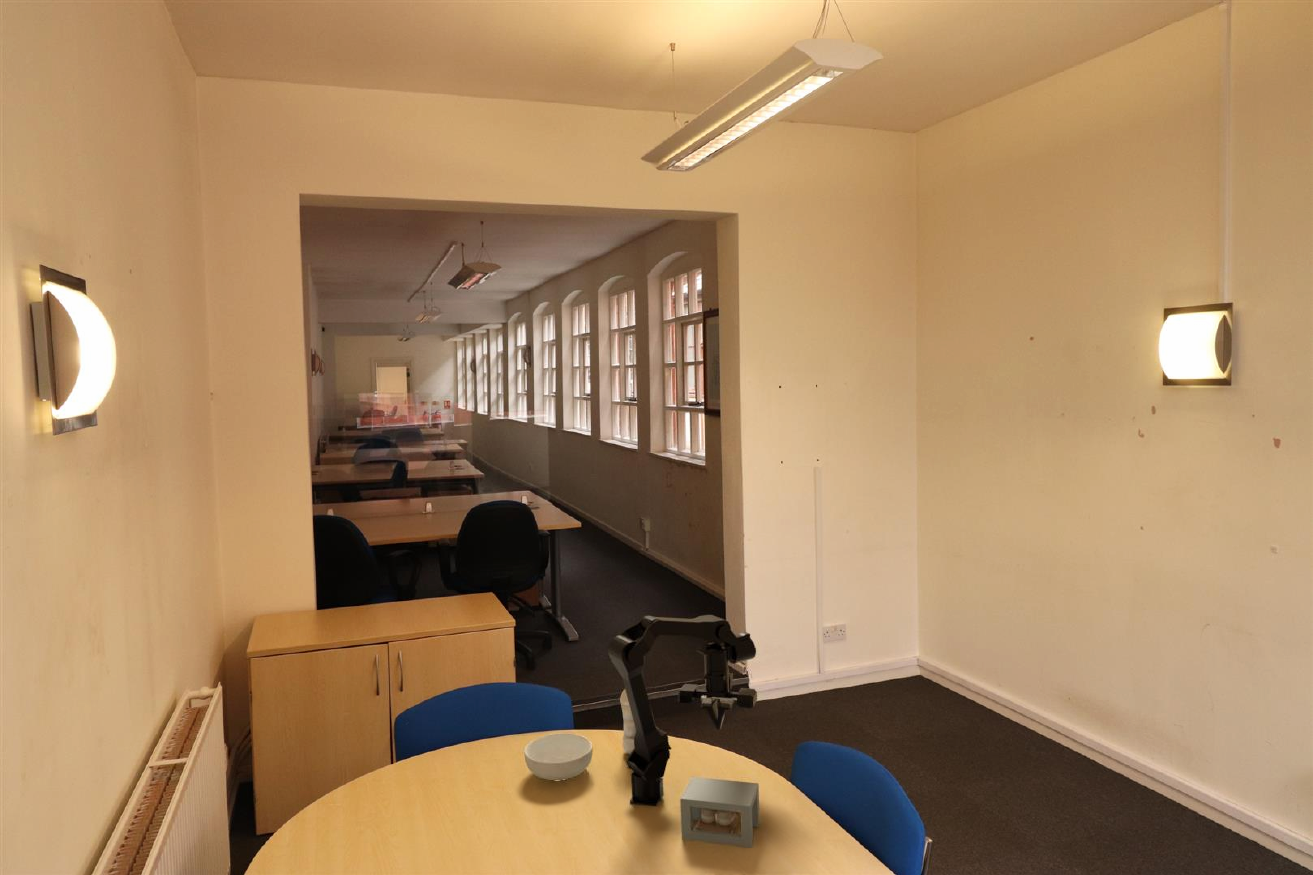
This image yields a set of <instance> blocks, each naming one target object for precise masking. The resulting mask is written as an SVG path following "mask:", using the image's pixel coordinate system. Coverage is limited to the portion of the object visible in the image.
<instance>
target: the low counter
mask: <svg viewBox="0 0 1313 875" xmlns="http://www.w3.org/2000/svg"><path fill="white" fill-rule="evenodd" d="M759 786H760V785H759V783H757V782H749V781H748V782H747V781H739V780H730V779H719V778H710V777H702V776H701V777H699V776H691V777H690V779H689V782H688V783H687V785H686V787H685V788H684V791H683V793H682V795H681V796H680V798H679V801H680V803H679V804H680V822H681V823H680V825H681V826H680V827H681V840H687V841H695V842H704V843H709V844H711V843H712V844H719V845H727V846H734V847H741V848H742V847H744V848H749V849H750V848H752V846H753V844H754V830H753V828H759V826H760V824H761V823H760V822H761V821H760V791H759V789H760V788H759ZM701 808H708V809H717V810H726V811H735V812H736V813H737V812H738V813H740V828H741V831H740V832H741V833H740V834H738V833H723V832H715V831H707V830H698V829H695V828H694V823H693V822H694V821H697V822H699V821H700V819H701Z"/></svg>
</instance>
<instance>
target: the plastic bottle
mask: <svg viewBox="0 0 1313 875" xmlns="http://www.w3.org/2000/svg"><path fill="white" fill-rule="evenodd" d="M619 701H620V705H621V706H620V707H621V711H622V718H623V736H622V749H623V750H624V752H625V754H628V755H630V754H631V753H632V751H633V750H634V749H635V747H634V737H635V734H636V728H635V724H634V720H633V716H632V713H631V709H630V705H629V702H628V698H627V694H626V690H625V688H624V689H623V691H622V692H621V695H620V698H619Z"/></svg>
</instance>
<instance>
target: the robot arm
mask: <svg viewBox="0 0 1313 875" xmlns="http://www.w3.org/2000/svg"><path fill="white" fill-rule="evenodd" d="M731 629H732V628H731V624H730V623H729V621H728V620H726V619H724V618H722V617H721V618H720V617H718V616H715V615H713V614H705V615H699V616H697V617H695V618H682V617H681V618H680V617H665V616H661V617H660V616H658V617H657V616H652V615H644V616H643V617H642V618H641V619H640V620H639V621H637V623H635V624H632V625H631V626H628V627H627V628H625V629H623V631H621V633H619V634H618V635H616V636H614V637H612V639H611V640H610V642H609V644H608V646H607V653H608V656H609V658H610V660H611V662H612V664H613V666H614V667H615V669H616V670H617V671H618V673H619V675H620V677H621V678H622V682H623V686H624V689H625V690H626V694H627V698H628V702H629V705H630V709H631V713H632V716H633V720H634V724H635V728H636V734H635V737H634V747H635V749H634V750H633V751H632V753H631V754H629V756H628V758H627V759H626V760H625V764H626V766H627V768H628V769H629V770H631V771H632V772H631V774H630V776H631V778H630V779H631V797H630V799H629V803H631V804H636V805H637V804H638V805H647V806H657V805H658V804H659V801H660V800H662V797H663V796H664V778H663V777H665V772H666V768H667V765H668V761H669V760H670V758H671V751H672V747H671V746H670V743H669V737H668V733H667V732H666V731H663V730H661V729H660V728H658V727H657V725H656V721H655V718H654V713H653V711H652V710H653V709H652V706H651V702H650V699H649V695H648V691H647V688H646V683H645V680H644V675H643V671H644V667H645V656H646V655H647V654H648V653H649V652H650V651H651V649H652V648H653V645H654V643H655V641H656V639H657V638H658V637H659V636H665V637H666V636H667V637H686V638H687V637H689V638H691V637H692V638H699V639H702V640H705V641H702V642H701V644H700V645H699V646H697V648H696V652H698V653H699V654H702V655H703V656H704V681H705V689H700V687H699V685H698V684H692V683H684V684H683V685H682V687H681V688H680V690H678V694H677V702H679V703H682V704H691V703H692V702H693V701H694V698H695V699H696V698H697V699H700V700H701V704H700V707H701V708H704V709H705V710H706V713H708V715H709V717H710V719H711V721H712V723H713V726H714V727H715V729H716V730H717V731H720V730H721V729H722V725H723V722H724V718H725V715H726V711H727V710H730V709H732V706H733V705H734V703H735V702H736V704H737V706H739V707H740V708H744V709H745V708H746V709H752V708H754V707H755V705H756V703H757V700H758V692H757V690H756V689H755V688H751V687H750V688H746V687H740V688H739V691H737V692H734V691H730V690H731V689H732V687H733V686H734V681H733V680H734V673H730V670H729V662H730V663H731V665H732V664H733V665H734V664H735V665H736V664H738V663H743V662H745V661H749V660H753V659H754V658H755V657H756V655H757V648H756V646H755V643H754V641H753V639H752V638H751V633H749V632H746V631H743V632H740V633H738V634H735V633H734V632H733V631H732V630H731ZM638 639H639V640H638ZM636 640H637V641H636ZM706 641H708V642H709V643H707V642H706ZM710 642H711V643H710ZM718 700H719V701H720V703H719V704H718ZM670 750H671V751H670Z"/></svg>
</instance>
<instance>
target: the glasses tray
mask: <svg viewBox="0 0 1313 875" xmlns="http://www.w3.org/2000/svg"><path fill="white" fill-rule="evenodd" d="M737 824H738V814H737V812H735V811H726V810H717V809H708V808H701V819H700V821H697V824H696V826H695V827H694V829H698V830H707V831H715V832H723V833H731V834H733V832H734V829H735V828H736V825H737Z"/></svg>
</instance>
